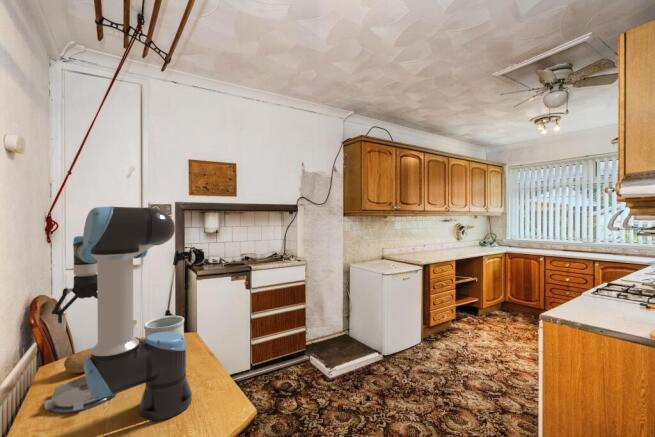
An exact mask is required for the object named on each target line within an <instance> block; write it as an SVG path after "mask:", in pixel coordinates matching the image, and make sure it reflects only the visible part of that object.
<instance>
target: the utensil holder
mask: <svg viewBox="0 0 655 437" xmlns="http://www.w3.org/2000/svg"><path fill="white" fill-rule="evenodd" d="M184 323H185V317H183V316H181V315H165V316H160V317H156V318H152V319H149V320H147V321H146V322H145V323H144V325H143V328H144V336H145V337H144V338H145V339H146V337H147V336H148V335H150V334H153V333H158V332H176V333H180V334H182V335H183V336H184V337H185V335H184V334H185V332H184V331H185V329H184V328H185V327H184Z"/></svg>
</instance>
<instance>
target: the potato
mask: <svg viewBox="0 0 655 437" xmlns="http://www.w3.org/2000/svg"><path fill="white" fill-rule="evenodd" d="M92 348H93V347H92ZM92 348H87V349H84V350H80V351H78V352H76V353H73V354H70V355H69V356H67V357H66V358H65V360H64V361H63V364H64V365H63V366H64V368H65V370H66V371H68V372H70V373H74V374H80V373H85V372H84V360H85V359H87V358H88V357H90V358H91V350H92Z"/></svg>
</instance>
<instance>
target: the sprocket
mask: <svg viewBox="0 0 655 437" xmlns="http://www.w3.org/2000/svg"><path fill="white" fill-rule="evenodd" d="M53 390H54V392H52V394H51V399H48V400H45V401H44V408H45V409H46V410H47V411H48V410H50V409H51V408H53V407H55V408H59V409H71V408H73V411H75V410H79V409H83V408H84V406H85V405H89V404H92V403H94V402H97V401H99V400H101V399H103V398H101V399H94V398H93V397H92V396H91V394H90V392H89V389H88V385H87V381H86V377H85V376H81V377H79V378H75V379H73V380H71V381H69V382H67V383H60V384H58V385H57V386H55V387H54V388H53ZM114 395H115V394H114ZM115 396H116V395H115ZM104 398H105V397H104Z"/></svg>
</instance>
